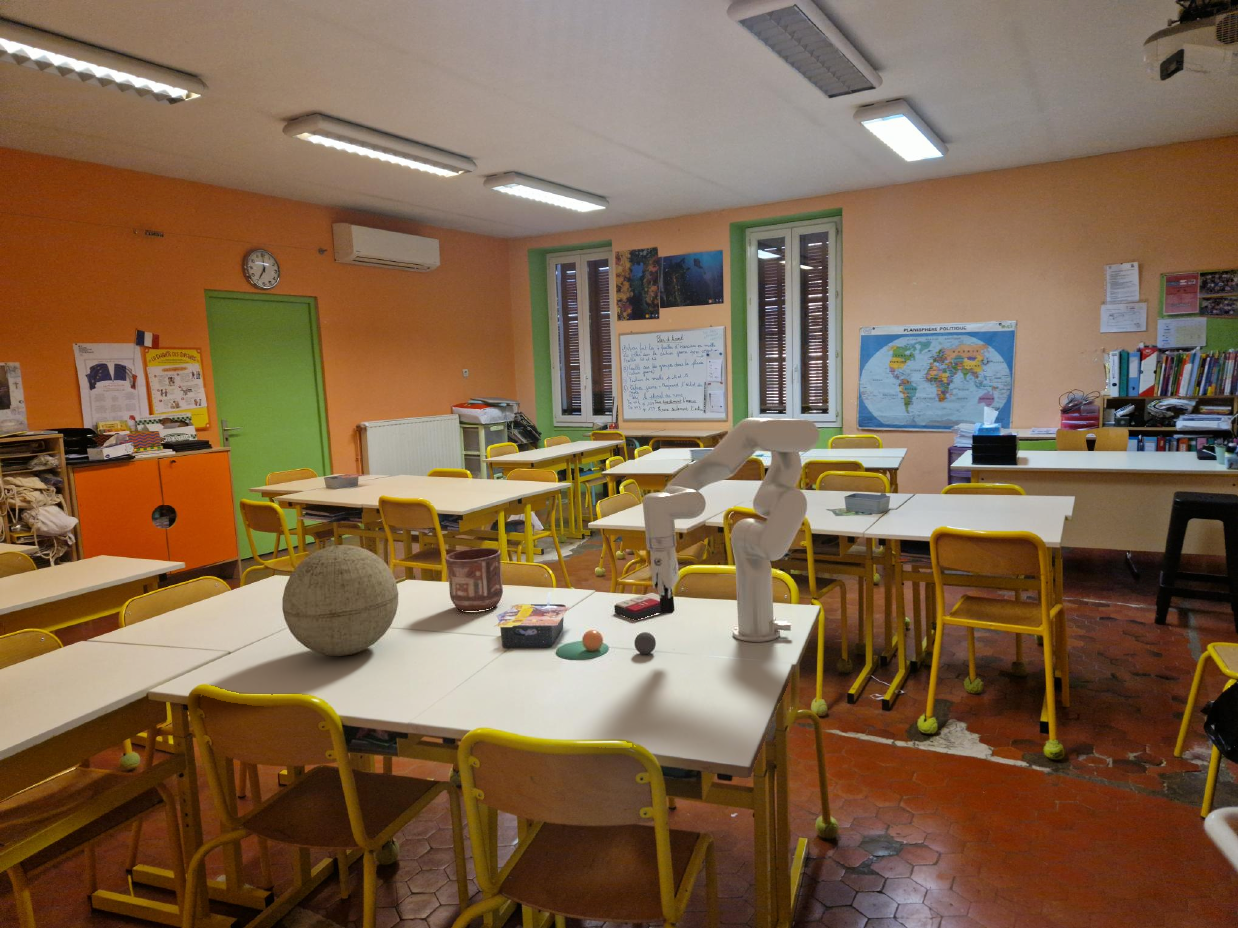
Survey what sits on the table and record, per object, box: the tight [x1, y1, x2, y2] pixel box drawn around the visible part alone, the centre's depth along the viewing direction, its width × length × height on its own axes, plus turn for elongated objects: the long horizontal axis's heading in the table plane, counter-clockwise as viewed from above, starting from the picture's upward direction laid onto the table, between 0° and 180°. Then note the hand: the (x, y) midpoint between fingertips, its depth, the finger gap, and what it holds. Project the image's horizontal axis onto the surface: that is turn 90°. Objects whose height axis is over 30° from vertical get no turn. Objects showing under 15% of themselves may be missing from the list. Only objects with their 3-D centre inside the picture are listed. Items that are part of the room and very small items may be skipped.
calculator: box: [613, 592, 661, 621], centre depth 230 cm, size 11×4×15 cm
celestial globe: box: [281, 544, 399, 657], centre depth 207 cm, size 30×30×30 cm
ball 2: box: [634, 631, 657, 655], centre depth 194 cm, size 6×6×6 cm
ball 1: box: [581, 629, 604, 651], centre depth 198 cm, size 6×6×6 cm
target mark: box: [555, 640, 610, 661], centre depth 200 cm, size 14×14×1 cm
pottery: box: [444, 547, 504, 611], centre depth 245 cm, size 18×18×18 cm
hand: (667, 611), depth 192 cm, fingers closed
